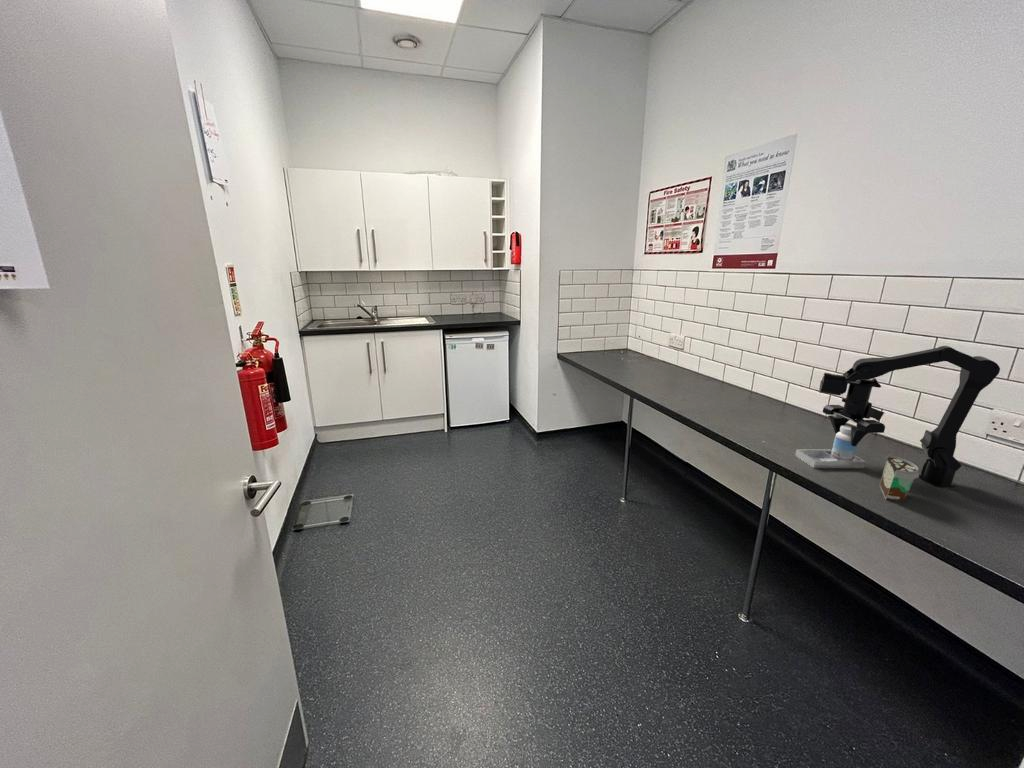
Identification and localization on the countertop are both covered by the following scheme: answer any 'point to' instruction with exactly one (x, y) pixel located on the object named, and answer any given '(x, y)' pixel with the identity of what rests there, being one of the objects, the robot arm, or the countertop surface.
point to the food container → (897, 478)
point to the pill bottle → (843, 445)
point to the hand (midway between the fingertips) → (845, 441)
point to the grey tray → (826, 459)
